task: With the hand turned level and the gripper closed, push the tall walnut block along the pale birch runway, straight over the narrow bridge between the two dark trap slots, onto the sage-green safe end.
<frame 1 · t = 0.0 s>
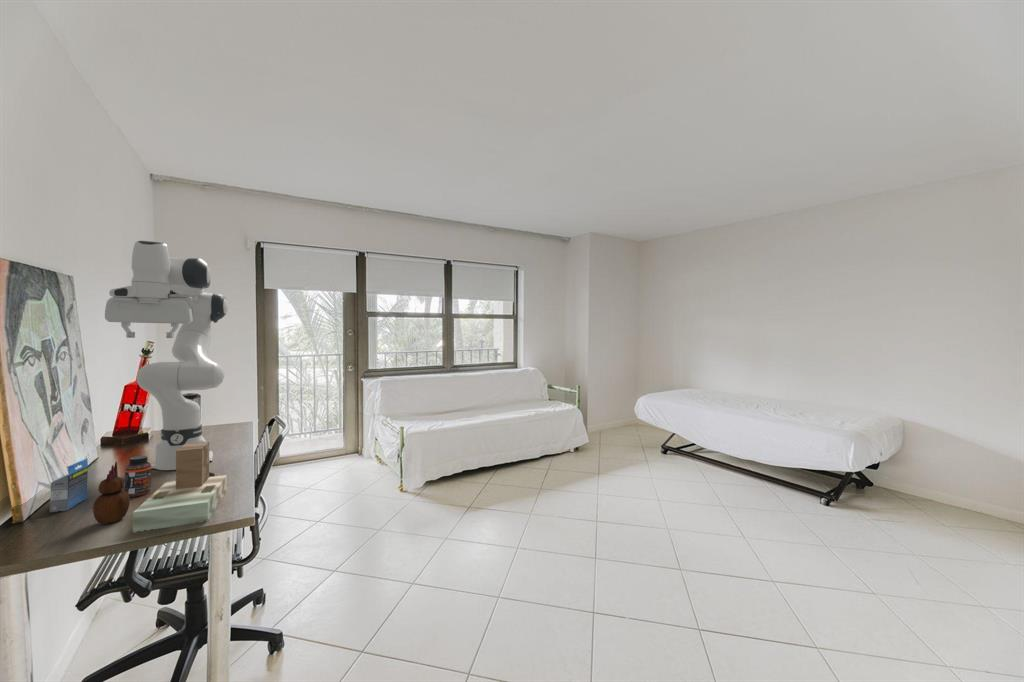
hand: (150, 337, 123), 48 cm above the table, tool pointing down, fingers open, 8 cm apart
wooden figurine: (111, 521, 104), on the table
label tape box: (69, 506, 113), on the table
supplement bottle: (138, 494, 122), on the table
gaming mouse: (204, 487, 130), on the table
walnut block: (193, 483, 118), point 5 cm above the table, touching trap runway
trap runway: (185, 509, 112), on the table
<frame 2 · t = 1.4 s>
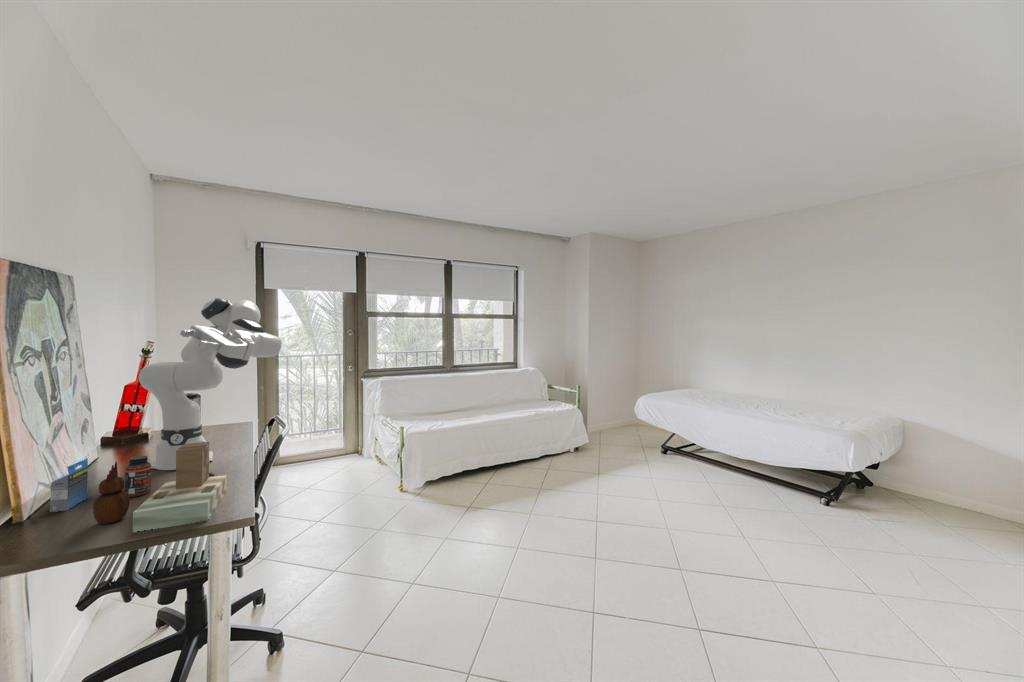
hand: (190, 338, 121), 48 cm above the table, tool horizontal, fingers open, 8 cm apart
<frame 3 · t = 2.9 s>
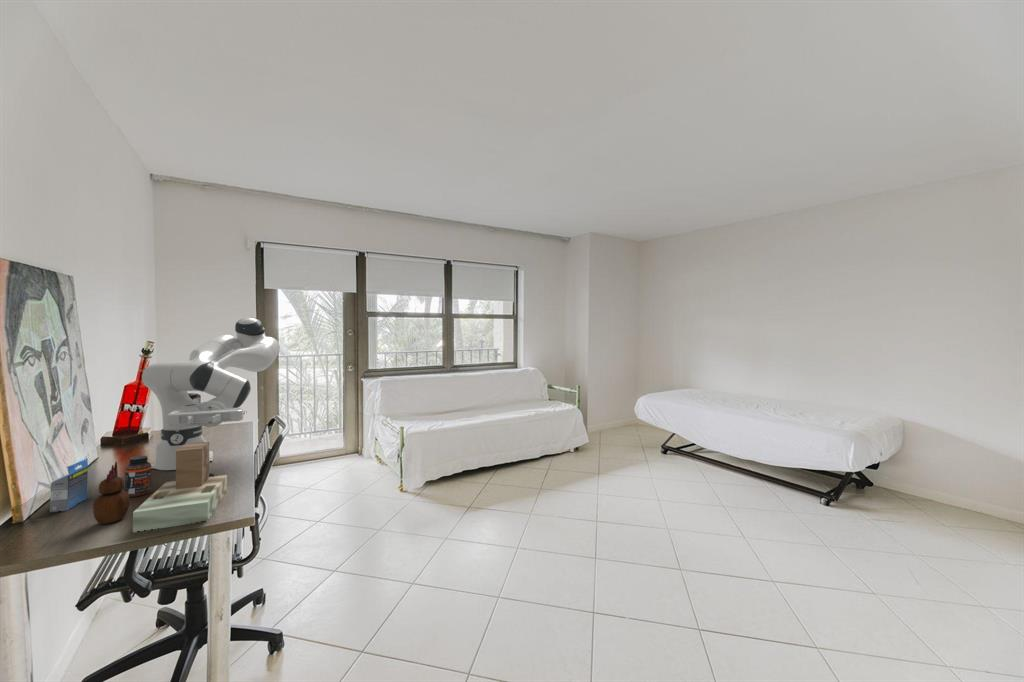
hand: (201, 420, 125), 22 cm above the table, tool horizontal, fingers open, 4 cm apart
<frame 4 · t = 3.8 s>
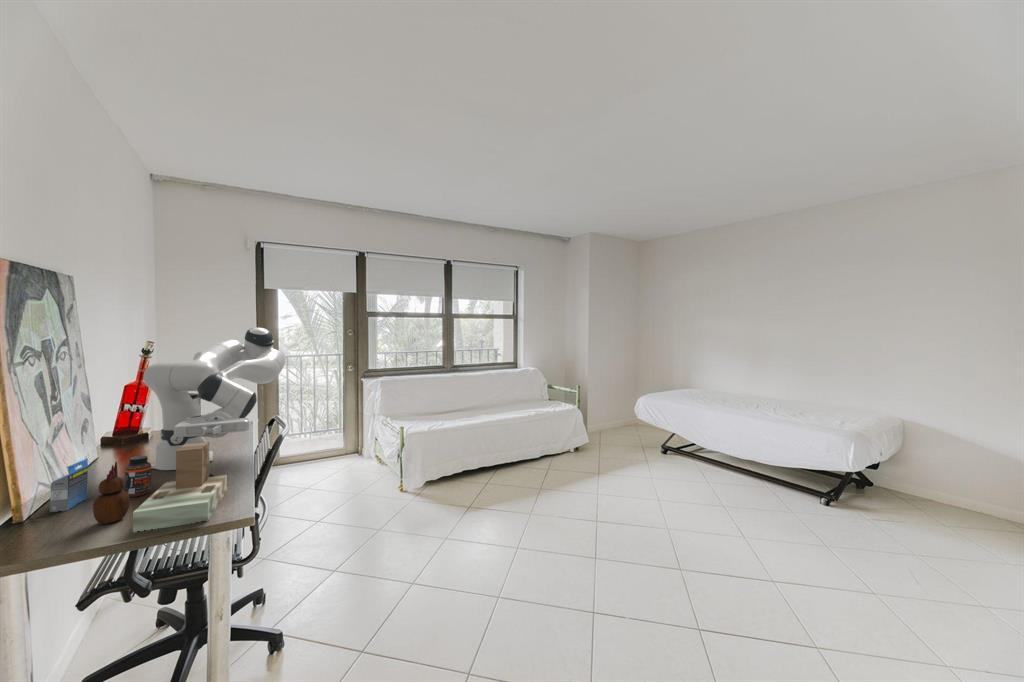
hand: (208, 431, 126), 18 cm above the table, tool horizontal, fingers closed
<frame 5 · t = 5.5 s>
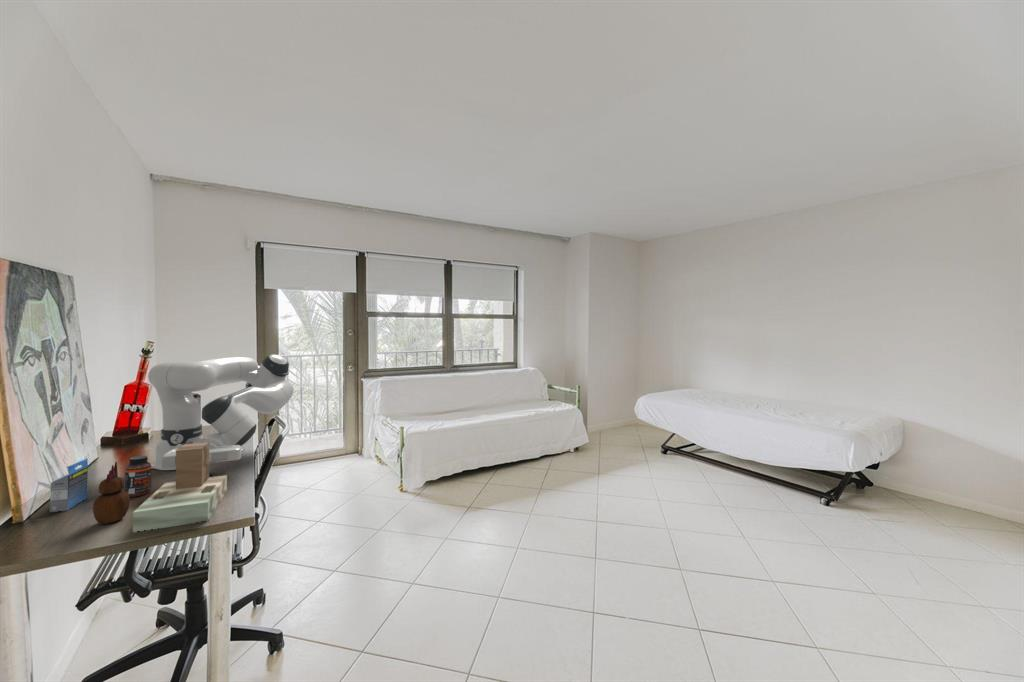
hand: (197, 462, 122), 10 cm above the table, tool horizontal, fingers closed
gaming mouse: (204, 488, 128), on the table, touching trap runway
walnut block: (193, 483, 118), point 5 cm above the table, touching gripper, trap runway
everything else where it was.
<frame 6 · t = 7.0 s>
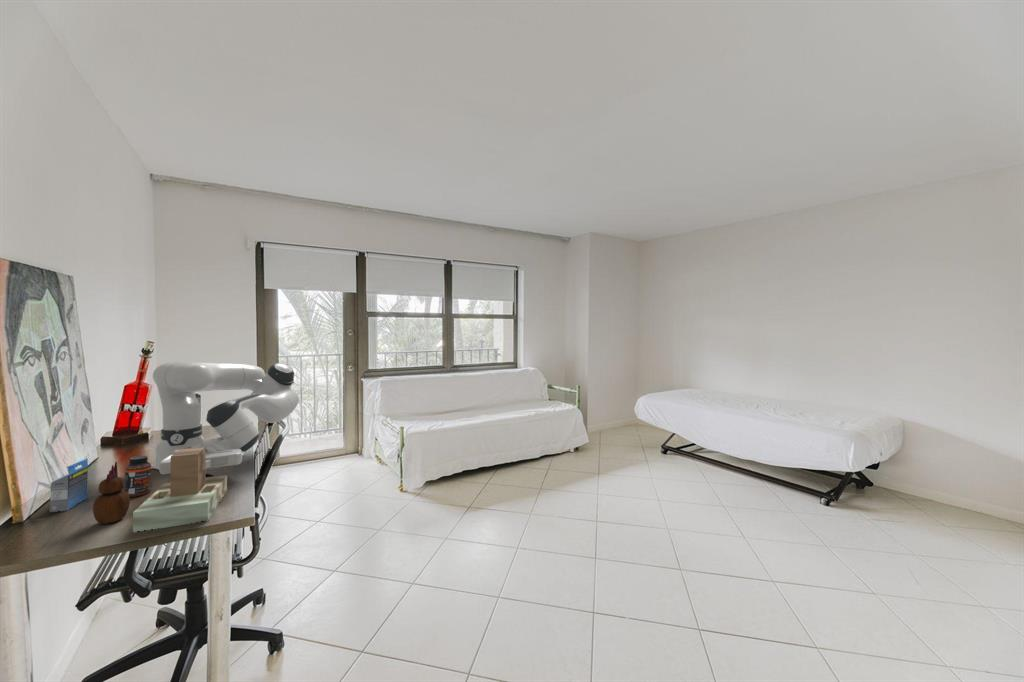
hand: (196, 468, 116), 10 cm above the table, tool horizontal, fingers closed, pressing on walnut block
gaming mouse: (204, 489, 128), on the table
walnut block: (188, 490, 112), point 5 cm above the table, touching gripper
everything else where it was.
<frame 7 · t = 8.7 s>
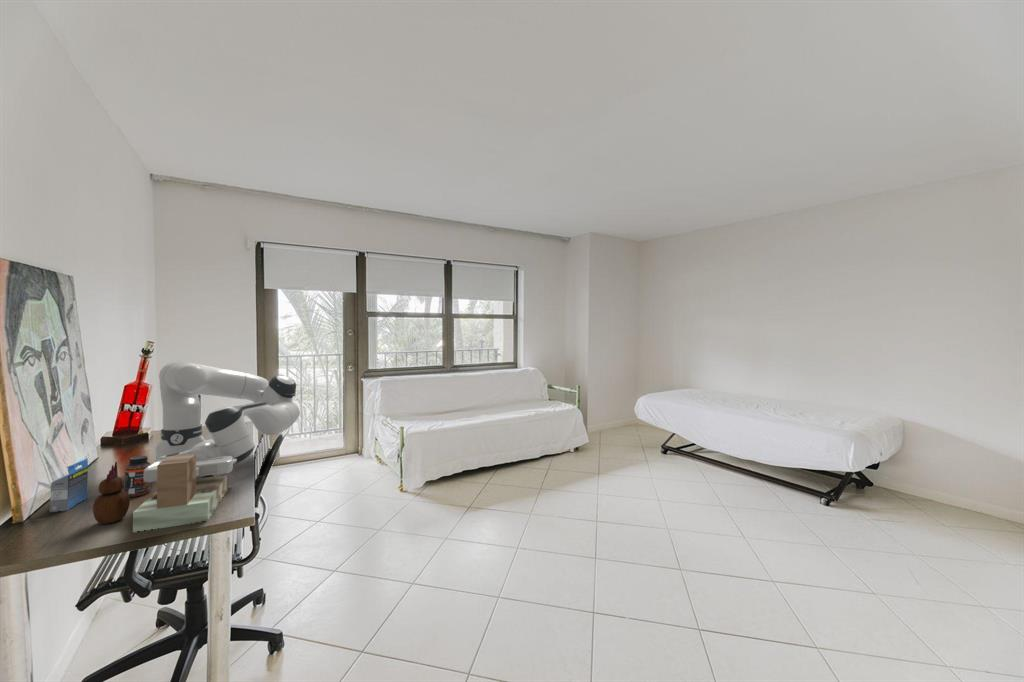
hand: (183, 477, 109), 10 cm above the table, tool horizontal, fingers closed
walnut block: (177, 500, 105), point 5 cm above the table, touching gripper, trap runway
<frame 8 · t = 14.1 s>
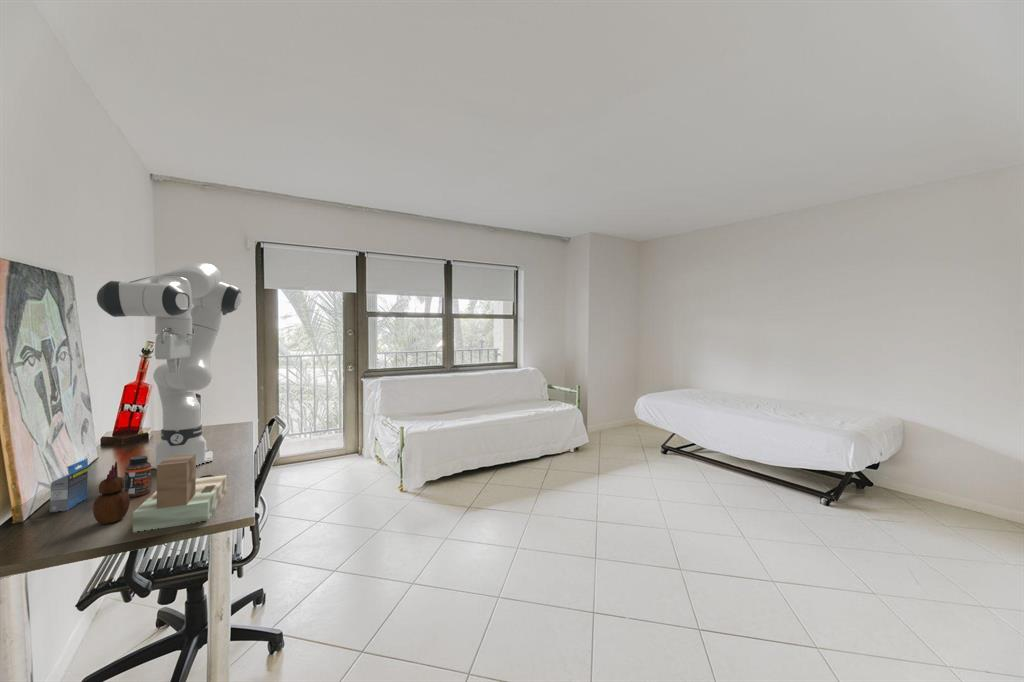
hand: (173, 373, 124), 37 cm above the table, tool pointing down, fingers closed
gaming mouse: (206, 490, 127), on the table
walnut block: (176, 501, 105), point 5 cm above the table, touching trap runway
everything else where it was.
at the end: walnut block inside the target area (0.4 cm from its centre), point 5.0 cm above the table; walnut block tilted 0° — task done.
